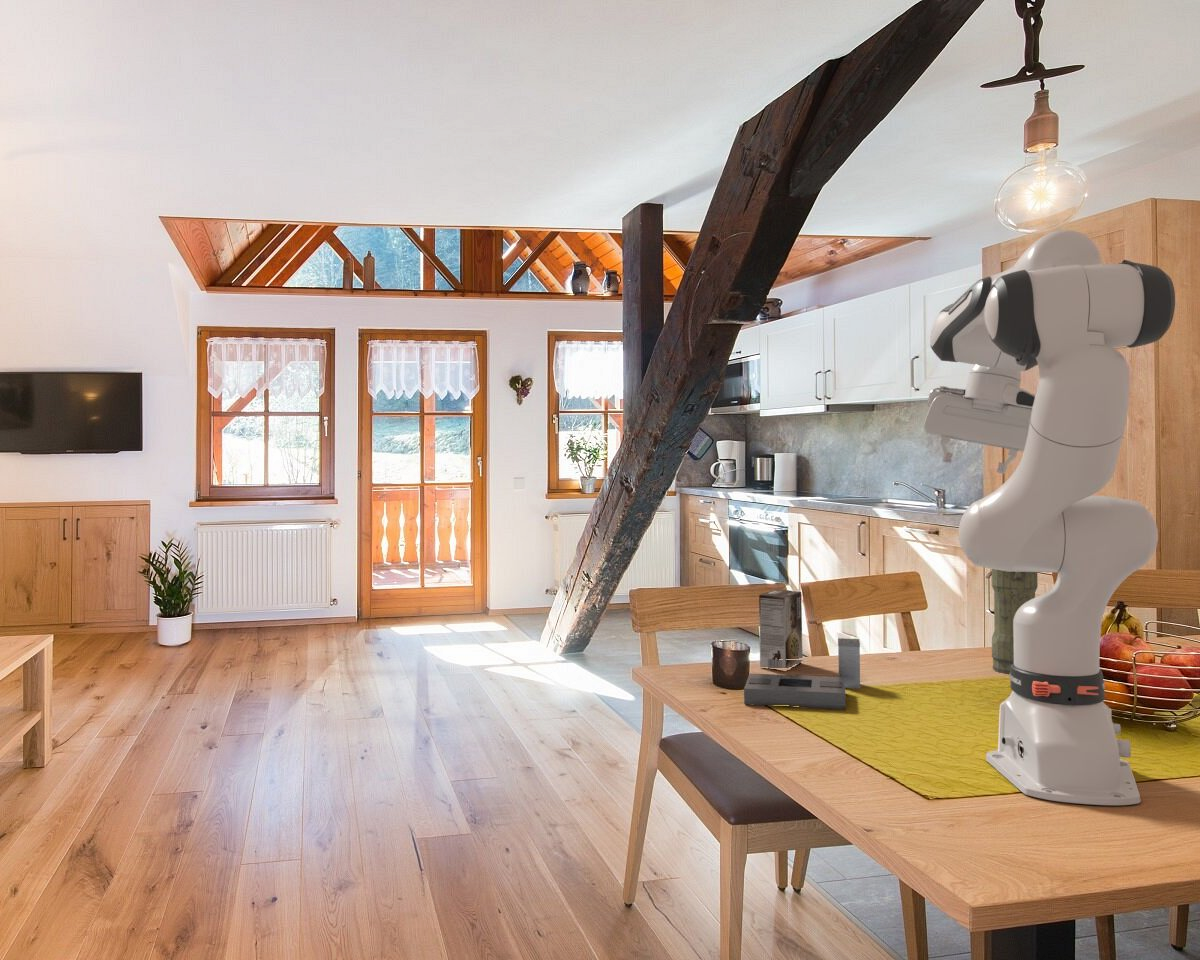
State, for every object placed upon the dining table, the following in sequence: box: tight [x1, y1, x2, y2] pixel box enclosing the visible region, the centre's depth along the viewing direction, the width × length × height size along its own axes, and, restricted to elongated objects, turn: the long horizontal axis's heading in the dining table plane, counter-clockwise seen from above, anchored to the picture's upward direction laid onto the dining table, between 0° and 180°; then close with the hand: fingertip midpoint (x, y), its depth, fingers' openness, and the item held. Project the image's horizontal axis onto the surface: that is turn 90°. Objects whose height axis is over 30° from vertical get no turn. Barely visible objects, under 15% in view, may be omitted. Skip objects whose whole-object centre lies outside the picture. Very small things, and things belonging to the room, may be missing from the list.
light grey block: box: [837, 637, 861, 690], centre depth 176 cm, size 4×4×9 cm
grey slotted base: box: [743, 673, 847, 711], centre depth 167 cm, size 12×18×3 cm, turn 76°
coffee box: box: [758, 589, 804, 668], centre depth 194 cm, size 9×6×16 cm
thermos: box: [991, 569, 1038, 675], centre depth 187 cm, size 9×12×35 cm
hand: (973, 467), depth 163 cm, fingers open, 8 cm apart
